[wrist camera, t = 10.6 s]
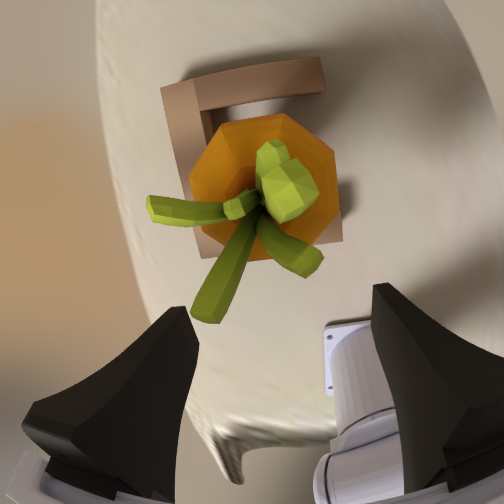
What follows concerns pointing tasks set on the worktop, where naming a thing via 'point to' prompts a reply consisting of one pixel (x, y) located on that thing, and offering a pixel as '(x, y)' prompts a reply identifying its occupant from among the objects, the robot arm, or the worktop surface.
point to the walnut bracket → (225, 95)
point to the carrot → (256, 203)
